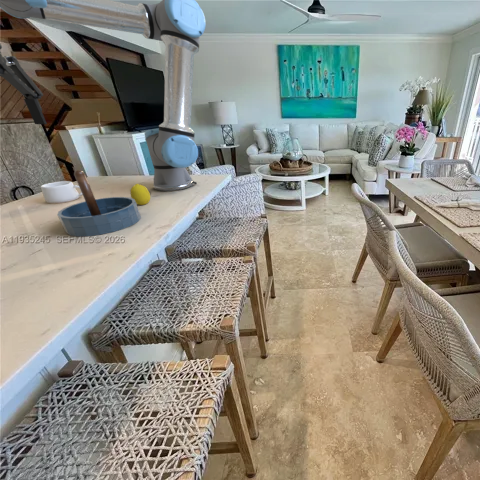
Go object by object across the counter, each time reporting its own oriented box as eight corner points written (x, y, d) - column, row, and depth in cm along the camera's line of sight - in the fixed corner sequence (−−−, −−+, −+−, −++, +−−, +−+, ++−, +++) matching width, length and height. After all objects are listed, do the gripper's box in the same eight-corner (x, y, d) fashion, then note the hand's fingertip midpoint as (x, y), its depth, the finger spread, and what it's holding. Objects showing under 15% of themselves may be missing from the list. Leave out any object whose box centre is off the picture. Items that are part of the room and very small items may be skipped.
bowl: (138, 210, 89) (132, 193, 86) (145, 228, 76) (138, 208, 73) (69, 223, 79) (60, 204, 76) (64, 245, 67) (53, 223, 64)
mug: (40, 205, 94) (32, 188, 91) (54, 197, 102) (46, 182, 99) (81, 201, 97) (74, 185, 94) (91, 194, 105) (85, 179, 103)
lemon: (150, 202, 96) (143, 180, 93) (155, 206, 93) (148, 183, 89) (133, 206, 93) (125, 183, 89) (137, 210, 89) (129, 186, 86)
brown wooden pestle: (114, 218, 81) (95, 167, 74) (108, 225, 76) (87, 171, 69) (91, 221, 79) (68, 168, 72) (83, 228, 74) (58, 173, 67)
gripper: (9, 38, 72) (45, 123, 82) (-127, 9, 50) (-54, 129, 60) (36, 38, 72) (70, 123, 82) (-86, 9, 50) (-21, 129, 60)
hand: (18, 126), depth 71 cm, fingers open, 13 cm apart
